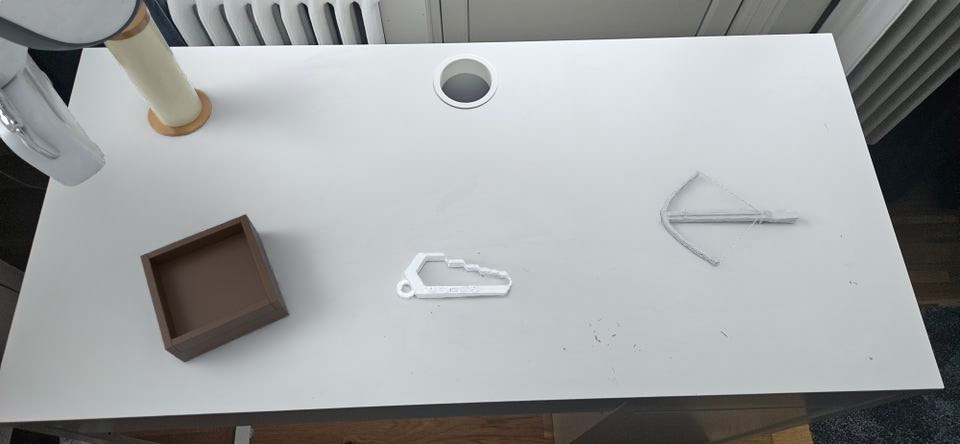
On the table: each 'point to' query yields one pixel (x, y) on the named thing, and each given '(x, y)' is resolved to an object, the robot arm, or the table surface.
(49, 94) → the robot arm
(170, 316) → the tray
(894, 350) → the table surface
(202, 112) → the coaster
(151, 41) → the cylindrical canister
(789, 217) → the crossbow
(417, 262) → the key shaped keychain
